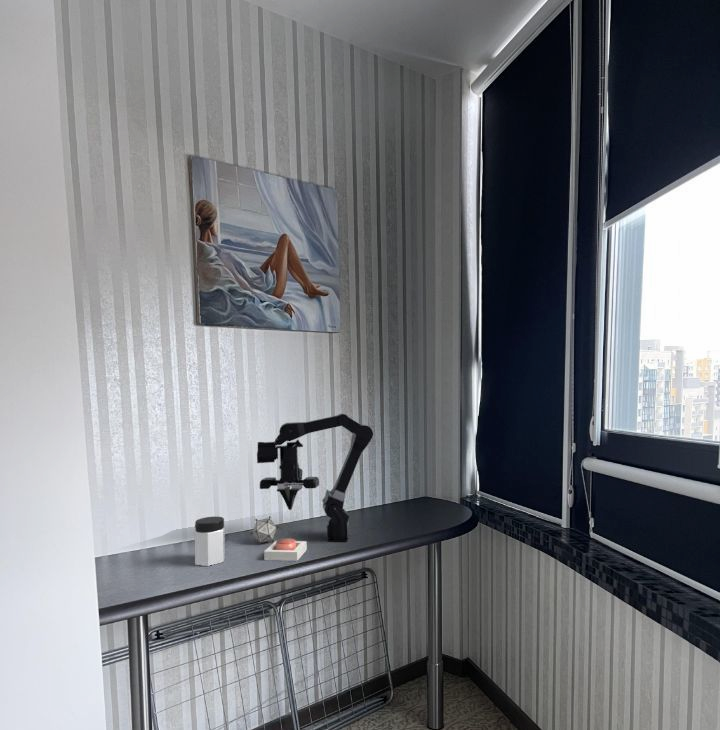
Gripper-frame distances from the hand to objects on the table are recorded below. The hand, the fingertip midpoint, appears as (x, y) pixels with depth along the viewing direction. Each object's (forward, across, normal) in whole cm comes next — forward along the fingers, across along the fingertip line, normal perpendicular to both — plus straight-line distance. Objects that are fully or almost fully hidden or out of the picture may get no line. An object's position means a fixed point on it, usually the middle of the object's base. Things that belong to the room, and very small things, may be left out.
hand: (290, 509), depth 151 cm
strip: (+11, +25, 0) cm, 27 cm away
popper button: (+11, -2, +11) cm, 15 cm away
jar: (+11, +20, +17) cm, 28 cm away
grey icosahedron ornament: (+11, +9, -1) cm, 14 cm away
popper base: (+11, -2, +11) cm, 15 cm away
